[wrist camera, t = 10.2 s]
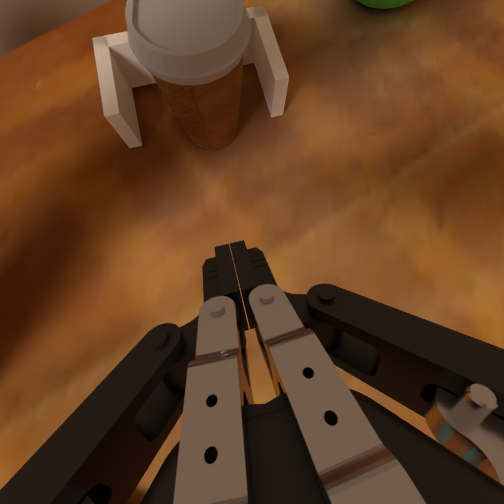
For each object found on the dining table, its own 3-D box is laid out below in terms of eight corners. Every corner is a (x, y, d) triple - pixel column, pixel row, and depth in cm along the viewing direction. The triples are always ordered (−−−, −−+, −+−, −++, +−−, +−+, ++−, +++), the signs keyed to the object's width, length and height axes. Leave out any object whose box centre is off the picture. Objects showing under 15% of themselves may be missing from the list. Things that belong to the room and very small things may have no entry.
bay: (129, 148, 28) (104, 116, 23) (118, 80, 30) (92, 38, 25) (282, 115, 29) (289, 77, 24) (262, 51, 31) (264, 5, 26)
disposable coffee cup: (197, 83, 30) (162, -57, 18) (264, 112, 29) (272, -15, 17) (158, 142, 28) (91, 30, 16) (228, 175, 27) (210, 81, 16)
